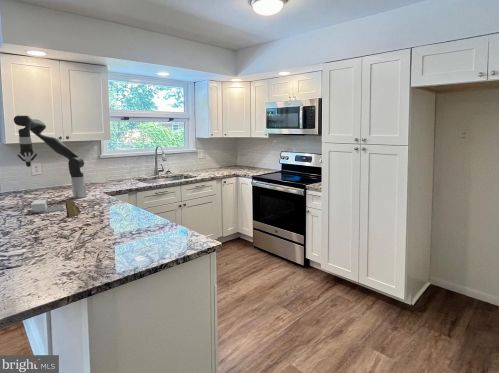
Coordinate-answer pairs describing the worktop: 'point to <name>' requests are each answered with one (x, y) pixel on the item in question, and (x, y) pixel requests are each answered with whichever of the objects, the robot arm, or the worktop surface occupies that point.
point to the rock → (71, 208)
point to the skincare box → (39, 206)
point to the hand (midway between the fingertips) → (28, 166)
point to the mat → (52, 209)
